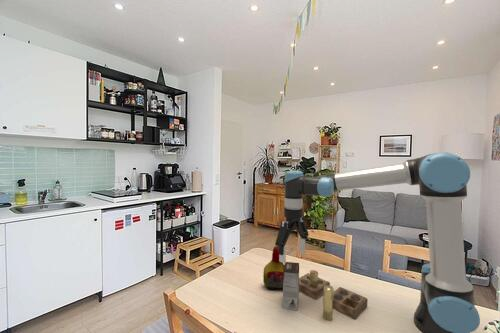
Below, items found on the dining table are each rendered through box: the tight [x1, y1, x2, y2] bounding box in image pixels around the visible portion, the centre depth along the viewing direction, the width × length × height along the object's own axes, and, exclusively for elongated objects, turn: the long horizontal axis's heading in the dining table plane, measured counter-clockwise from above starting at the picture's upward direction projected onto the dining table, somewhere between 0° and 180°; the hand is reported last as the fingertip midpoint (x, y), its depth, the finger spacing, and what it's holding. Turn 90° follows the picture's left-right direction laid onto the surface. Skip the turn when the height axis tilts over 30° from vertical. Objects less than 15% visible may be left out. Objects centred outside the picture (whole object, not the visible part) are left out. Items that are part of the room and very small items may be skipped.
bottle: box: [262, 245, 285, 291], centre depth 113 cm, size 12×6×20 cm, turn 76°
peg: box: [322, 285, 334, 322], centre depth 93 cm, size 4×4×12 cm
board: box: [299, 269, 331, 301], centre depth 113 cm, size 12×12×10 cm
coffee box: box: [282, 261, 300, 311], centre depth 101 cm, size 9×6×16 cm
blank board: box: [333, 286, 368, 320], centre depth 100 cm, size 12×12×4 cm
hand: (292, 257), depth 101 cm, fingers open, 13 cm apart
